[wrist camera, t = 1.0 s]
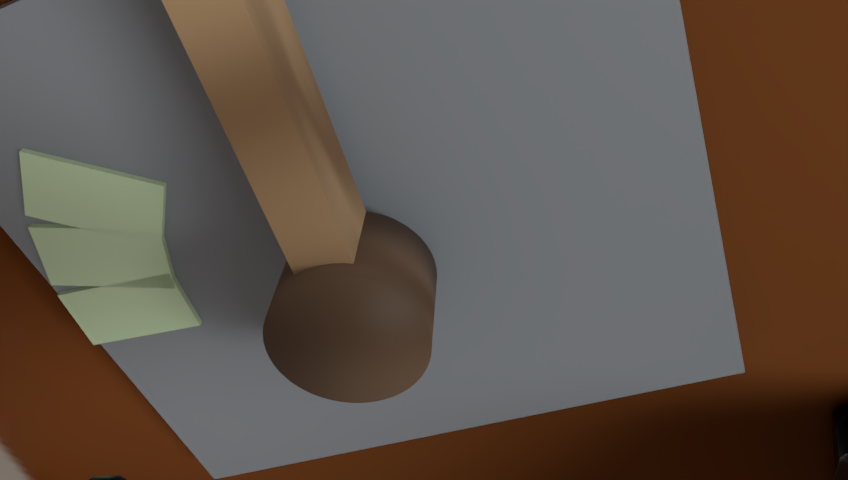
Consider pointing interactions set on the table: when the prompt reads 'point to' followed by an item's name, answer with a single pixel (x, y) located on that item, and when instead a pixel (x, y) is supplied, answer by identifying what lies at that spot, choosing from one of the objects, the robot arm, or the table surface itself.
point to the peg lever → (312, 212)
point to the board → (378, 209)
